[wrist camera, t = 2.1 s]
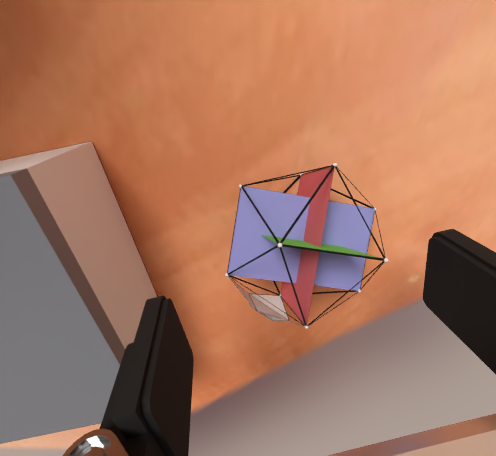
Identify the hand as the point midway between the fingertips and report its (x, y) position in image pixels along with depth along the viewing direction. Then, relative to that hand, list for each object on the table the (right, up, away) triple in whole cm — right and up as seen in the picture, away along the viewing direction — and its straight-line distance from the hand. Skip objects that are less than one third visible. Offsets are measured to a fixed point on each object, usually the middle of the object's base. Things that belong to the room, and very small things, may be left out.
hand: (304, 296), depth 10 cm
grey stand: (-14, 0, +6) cm, 15 cm away
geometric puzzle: (0, +3, +6) cm, 7 cm away
